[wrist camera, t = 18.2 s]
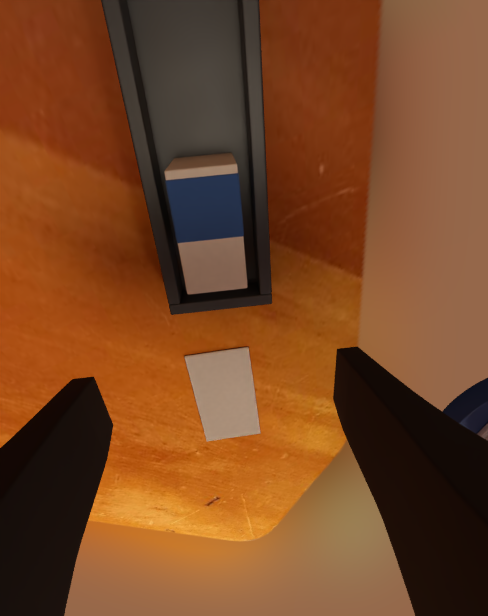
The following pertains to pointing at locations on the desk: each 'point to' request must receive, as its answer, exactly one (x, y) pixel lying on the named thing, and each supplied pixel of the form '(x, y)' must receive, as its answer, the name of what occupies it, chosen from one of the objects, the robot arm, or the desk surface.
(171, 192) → the eraser
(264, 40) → the desk surface
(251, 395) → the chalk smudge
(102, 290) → the desk surface
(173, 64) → the tray
